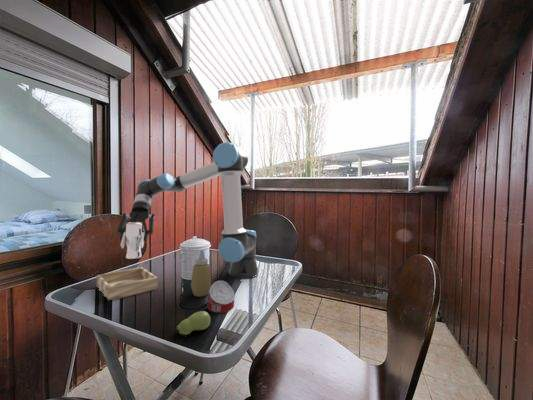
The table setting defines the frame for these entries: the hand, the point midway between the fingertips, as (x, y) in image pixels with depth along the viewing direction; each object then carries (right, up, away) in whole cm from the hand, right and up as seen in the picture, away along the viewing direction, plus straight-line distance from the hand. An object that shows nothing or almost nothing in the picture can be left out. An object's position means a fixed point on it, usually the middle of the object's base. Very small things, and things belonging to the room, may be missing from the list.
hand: (131, 246), depth 106 cm
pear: (+35, -20, -30) cm, 51 cm away
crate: (-1, -17, -1) cm, 17 cm away
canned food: (+40, -20, -13) cm, 47 cm away
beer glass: (-1, -5, +4) cm, 7 cm away
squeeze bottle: (+30, -19, -4) cm, 36 cm away
